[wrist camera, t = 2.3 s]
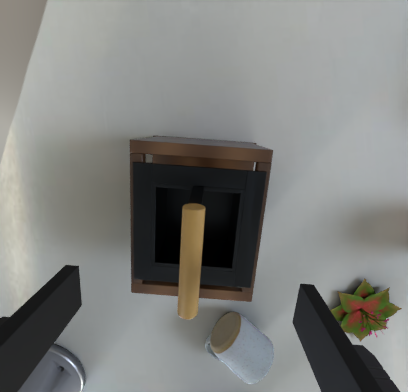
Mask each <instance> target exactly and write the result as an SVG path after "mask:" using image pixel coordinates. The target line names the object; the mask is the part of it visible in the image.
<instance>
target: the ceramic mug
mask: <svg viewBox="0 0 408 392" xmlns="http://www.w3.org/2000/svg"><path fill="white" fill-rule="evenodd" d="M205 348H206V350H207V352H208V353H209V354H210V355H211V356H213V357H214V358H216V359H218V360H220V361H222V362H223V363H225V364H226V365H227V366H228V367H229V368H230V369H231V370H232V371H233V372H234V373H235V374H236V375H237V376H238V377H239V378H240V379H241V380H242V381H244V382H245V383H247V384H254V383H257V382H259V381H260V380H262V379H263V378H264V377H265V376H266V374H267V373H268V372H269V370H270V368H271V365H272V362H273V358H274V348H273V344H272V342H271V340H270V339H269V338H268V337H267V336H266V335H265V334H263V333H262V332H261V331H260V330H259V329H258V328H256V327H255V326H254V325H253V324H252V323H250V322H249V321H248V320H247V319H246V318H245V317H244V316H242V315H240V314H239V313H236V312H230V313H227V314H225V315H224V316H223V317H221V318H220V320H219V321H218V322H217V323H216V325H215V327H214V328H213V331H212V334H211V335H210V336H208V338H207V340H206V344H205Z"/></svg>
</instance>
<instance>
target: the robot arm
mask: <svg viewBox="0 0 408 392" xmlns="http://www.w3.org/2000/svg"><path fill="white" fill-rule="evenodd" d="M81 305H82V302H81V290H80V277H79V266H71V265H65V266H64V267H63V268H62V269H61V270H60V271H59V272H58V273H57V274H56V275H55V276H54V277H53V278H52V279H50V280H49V281H48V282H47V283H46V284H45V285H44V286H43V287H42V288H41V289H40V290H39V291H38V292H37V293H35V294H34V295H33V296H32V297H31V298H30V299H29V300H28V301H27V302H26V303H25V304H24V305H23V306H22V307H20V308H19V309H18V310H17V311H16V312H15V313H14V314H13V315H12V316H11V317H2V318H0V392H81V391H82V389H83V387H84V385H85V372H84V369H83V367H82V365H81V363H80V362H79V360H78V359H77V358H76V357H75V356H74V355H73V354H72V353H70V352H69V351H67V350H66V349H64V348H62V347H60V346H58V345H55V344H53V343H54V342H55V341H56V339H57V338H58V337H59V335H60V334H61V333H62V331H63V330H64V329H65V327H66V326H67V324H68V323H69V322H70V320H71V319H72V318H73V316H74V315H75V314H76V312H77V311H78V310H79V308H80V307H81ZM293 325H294V327H295V329H296V332H297V334H298V337H299V339H300V341H301V344H302V346H303V349H304V351H305V353H306V356H307V358H308V361H309V363H310V365H311V368H312V370H313V373H314V375H315V377H316V380H317V382H318V385H319V387H320V389H321V392H400V391H399V389H398V388H397V387H396V385H395V384H394V383H393V381H392V380H390V377H389V376H388V374H387V373H386V371H385V370H383V367H382V366H381V364H380V363H379V362H378V360H377V359H376V357H375V356H374V355H373V354H372V353H371V352H370V351H368V350H367V349H366V348H365V347H364V346H363V345H352V343H351V342H350V340H349V339H348V337H347V335H346V334H345V332H344V331H343V329H342V328H341V326H340V325H339V323H338V322H337V320H336V319H335V317H334V315H333V314H332V312H331V311H330V309H329V308H328V306H327V305H326V303H325V302H324V300H323V299H322V297H321V296H320V294H319V292H318V291H317V289H316V288H315V286H314V285H310V284H300V288H299V293H298V298H297V303H296V308H295V313H294V318H293Z"/></svg>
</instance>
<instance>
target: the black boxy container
mask: <svg viewBox="0 0 408 392" xmlns="http://www.w3.org/2000/svg"><path fill="white" fill-rule="evenodd" d="M266 175H267V172H266V171H252V170H239V169H225V168H211V167H198V166H184V165H171V164H157V163H143V162H133V241H134V279H138V280H151V281H164V282H177V283H179V289H178V310H177V312H178V315H179V316H180V317H181V318H183V319H192V318H194V317H196V315H197V313H198V302H199V289H200V284H203V285H216V286H229V287H242V288H251V282H252V275H253V268H254V261H255V254H256V246H257V239H258V232H259V225H260V218H261V211H262V204H263V196H264V189H265V182H266Z"/></svg>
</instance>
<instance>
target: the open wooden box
mask: <svg viewBox="0 0 408 392" xmlns="http://www.w3.org/2000/svg"><path fill="white" fill-rule="evenodd" d="M146 154H153V160H152V163H157V164H171V165H184V166H198V167H211V168H225V169H239V170H252V171H253V167H254V162H256V168H255V171H266V172H267V175H266V182H265V189H264V196H263V204H262V211H261V218H260V225H259V232H258V239H257V246H256V254H255V261H254V268H253V275H252V282H251V288H242V287H229V286H216V285H203V284H200V289H199V298H208V299H221V300H234V301H247V302H252V295H253V288H254V281H255V274H256V267H257V260H258V253H259V246H260V239H261V232H262V225H263V218H264V211H265V204H266V198H267V191H268V184H269V177H270V170H271V162H272V155H273V150H271V149H268V148H265V147H262V146H259V145H256V143H248V142H235V141H221V140H207V139H193V138H179V137H166V136H153V137H148V138H140V139H132V140H130V199H131V282H132V283H131V292H132V293H144V294H157V295H170V296H178V289H179V283H177V282H164V281H151V280H138V279H134V241H133V162H143V163H146Z"/></svg>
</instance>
